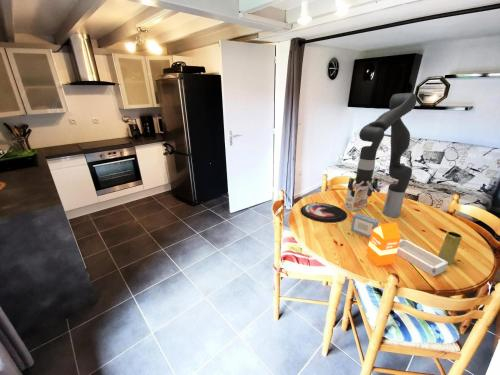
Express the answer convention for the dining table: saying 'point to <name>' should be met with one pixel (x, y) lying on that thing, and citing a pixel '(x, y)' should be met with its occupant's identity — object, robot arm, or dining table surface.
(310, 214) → the wall clock
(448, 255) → the vase
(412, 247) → the white rectangular tray
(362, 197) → the coffeecake box
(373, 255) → the orange juice
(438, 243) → the dining table surface
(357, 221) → the pale blue flat slab
